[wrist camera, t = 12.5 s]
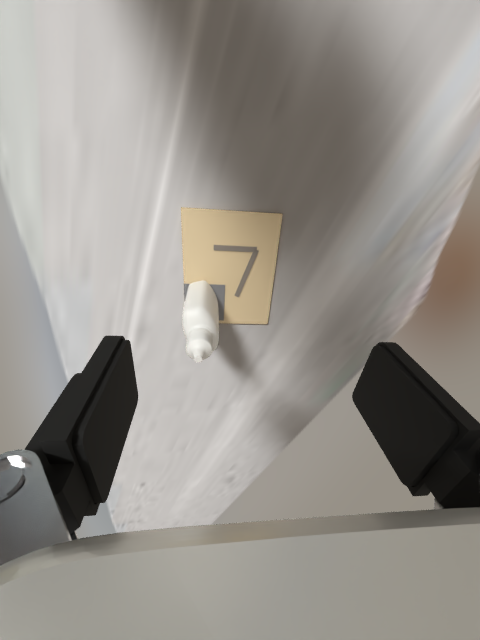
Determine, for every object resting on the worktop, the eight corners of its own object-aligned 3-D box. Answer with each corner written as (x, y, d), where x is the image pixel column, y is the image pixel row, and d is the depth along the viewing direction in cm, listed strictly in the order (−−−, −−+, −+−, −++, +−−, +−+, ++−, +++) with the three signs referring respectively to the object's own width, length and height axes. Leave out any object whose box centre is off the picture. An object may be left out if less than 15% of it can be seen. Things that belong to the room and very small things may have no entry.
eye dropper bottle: (182, 315, 33) (167, 379, 23) (190, 275, 31) (178, 327, 20) (215, 322, 34) (215, 387, 24) (226, 284, 32) (231, 337, 21)
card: (181, 207, 27) (180, 207, 27) (282, 213, 29) (282, 214, 28) (185, 321, 34) (185, 323, 34) (267, 322, 35) (267, 324, 35)
